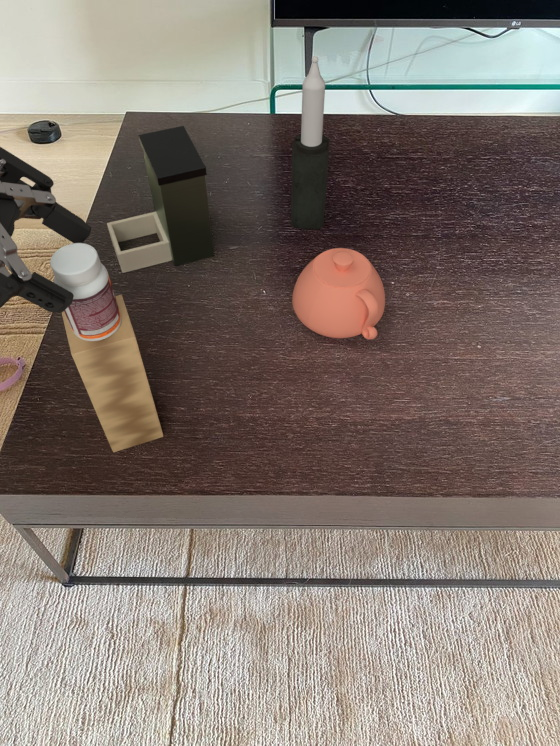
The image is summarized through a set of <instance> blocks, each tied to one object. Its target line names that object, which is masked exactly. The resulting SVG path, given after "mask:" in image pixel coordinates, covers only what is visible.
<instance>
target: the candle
mask: <svg viewBox="0 0 560 746" xmlns="http://www.w3.org/2000/svg"><path fill="white" fill-rule="evenodd" d="M318 62H319V57H318V56H317V55H313V56H312V57H311V64H310V67H309V70H308V74H307V76H305V77H304V80H303V81H302V89H301V91H302V93H301V119H300V120H301V121H300V133H299V134H297V135H296V136H295V137H294V138H293V142H292V149H291V187H290V188H291V191H290V193H291V194H290V197H291V198H290V225H291V227H293V228H296V229H305V230H320V229H322V228H323V227H324V224H325V213H326V199H327V188H328V187H327V186H328V174H329V173H328V172H329V158H330V146H331V145H330V144H331V141H330V138H329V137H328V136H326V135H325V134H323V131H324V130H323V129H324V112H325V97H326V96H325V95H326V82H325V80H324V78H323V77H322V76H323V75H321V70H320V67H319V64H318Z"/></svg>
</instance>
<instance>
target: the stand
mask: <svg viewBox="0 0 560 746" xmlns="http://www.w3.org/2000/svg"><path fill="white" fill-rule="evenodd" d="M115 297H116V301H117V304H118V307H119V311H120V314H121V324H120V327H119V328H118V330H117V331H116V332H115V333H114V334H112V335H111V336H109V337H107V338H105V339H103V340H99V341H85V340H82V339H80V338H79V337H77V336H76V335H75V334H74V333H73V331H72V329H71V327H70V324H69V322H68V319H67V317H66V314H65V312H64V311H63V312H61V316H62V320H63V324H64V329H65V333H66V337H67V342H68V346H69V350H70V355H71V357H72V359H73V362H74V364H75V367H76V369H77V371H78V374H79V375H80V378H81V381H82V382H83V385H84V388H85V390H86V392H87V395H88V398H89V400H90V401H91V404H92V406H93V409H94V412H95V413H96V416H97V418H98V420H99V423H100V425H101V428H102V430H103V432H104V435H105V437H106V439H107V442H108V444H109V446H110V448H111V452H112V453H117V452H120V451H123V450H126V449H129V448H133V447H135V446H139V445H142V444H145V443H148V442H151V441H155V440H158V439H160V438H164V433H163V429H162V425H161V422H160V419H159V415H158V411H157V408H156V404H155V400H154V398H153V394H152V391H151V387H150V382H149V379H148V376H147V373H146V369H145V365H144V361H143V358H142V355H141V350H140V348H139V344H138V341H137V337H136V334H135V330H134V328H133V324H132V322H131V319H130V315H129V313H128V309H127V306H126V303H125V301H124V297H123V294H118V295H115Z"/></svg>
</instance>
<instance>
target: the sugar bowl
mask: <svg viewBox="0 0 560 746" xmlns="http://www.w3.org/2000/svg"><path fill="white" fill-rule="evenodd" d="M291 300H292V301H291V302H292V303H291V304H292V309H293V311H294V313H295V315H296V317H297V318H298V320H299V321H300V322H301V324H303V325H304V326H305V327H306V328H307V329H309V330H310V331H312V332H313V333H316V334H318V335H320V336H323V337H327V338H331V339H349V338H353V337H357V336H359V335H362V337H364V339H366V340H374V339H376V338H377V336H378V330H377V328H376V327H375V326H376V325H377V324H378V322H379V321H381V319H382V317H383V316H384V312H385V308H386V307H385V306H386V293H385V287H384V283H383V281H382V279H381V276H380V275H379V273H378V271H377V269H376V268H375V267H374V265H373V264H372V263H371V262H370V260H369V259H368V258H367V257H366V256H365V255H364V254H362V253H361V252H359V251H357V250H354V249H351V248H347V247H346V248H344V247H335V248H331V249H327V250H325V251H323V252H321V253H319V254H318V255H317V256H315V257H314V258H313V259H311V261H310V262H308V264H307V265H306V266H305V267H304V268H303V270H301V272H300V274H299V275H298V277H297V279H296V282H295V284H294V287H293V291H292V299H291Z"/></svg>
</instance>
